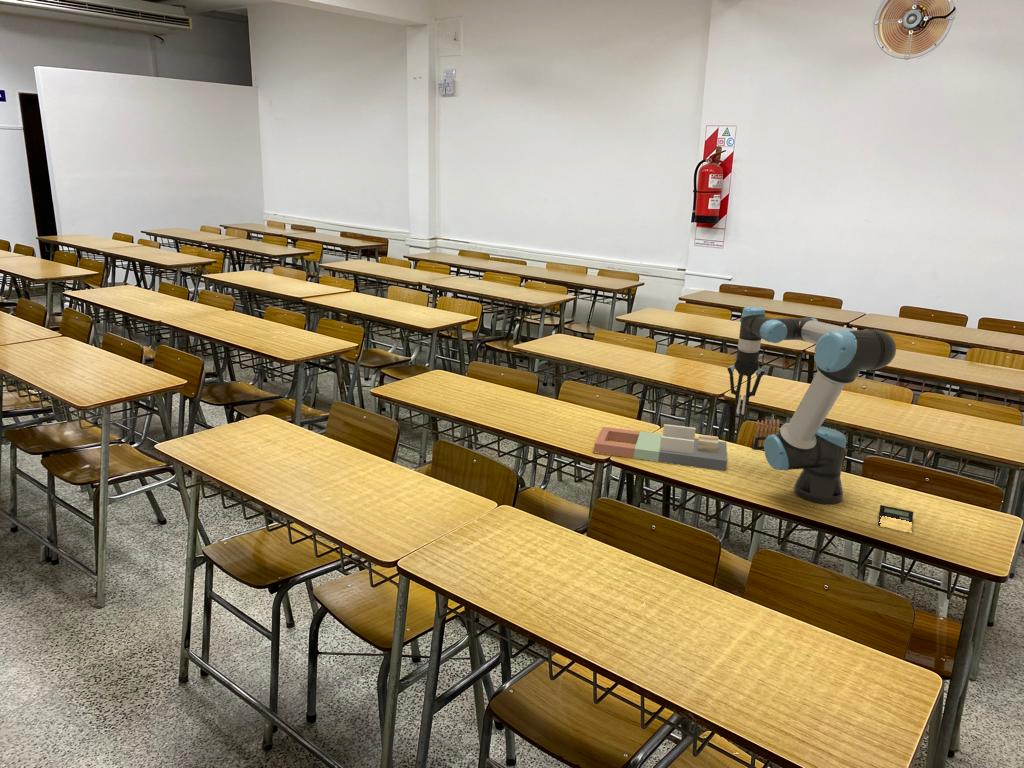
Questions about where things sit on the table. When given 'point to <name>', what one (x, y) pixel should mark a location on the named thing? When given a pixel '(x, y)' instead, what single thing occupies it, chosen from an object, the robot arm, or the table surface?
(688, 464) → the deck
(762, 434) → the ammunition clip
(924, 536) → the table surface
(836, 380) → the robot arm
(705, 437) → the block
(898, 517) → the calculator
